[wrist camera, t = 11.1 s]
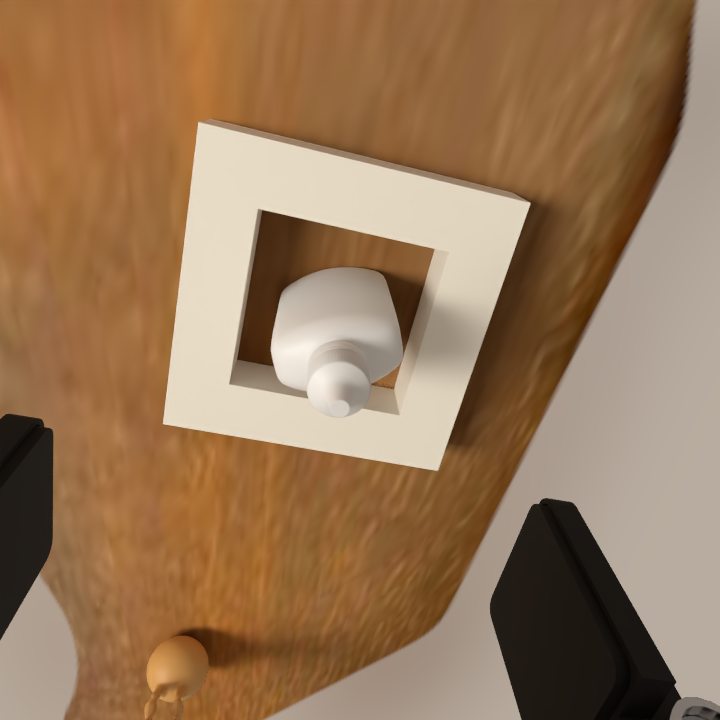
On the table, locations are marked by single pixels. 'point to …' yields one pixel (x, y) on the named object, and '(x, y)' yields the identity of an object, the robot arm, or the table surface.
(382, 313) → the eye dropper bottle
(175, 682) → the figurine
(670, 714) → the robot arm
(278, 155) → the cream square frame
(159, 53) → the table surface
